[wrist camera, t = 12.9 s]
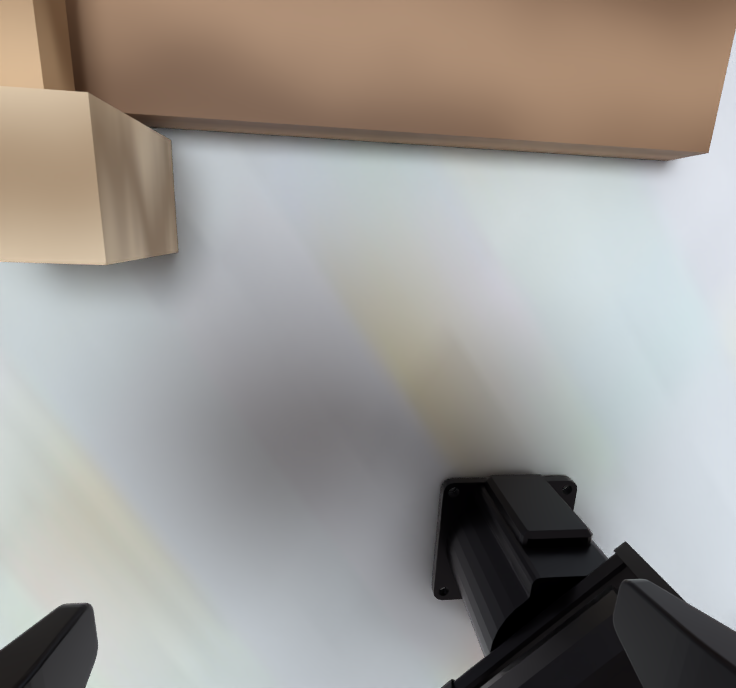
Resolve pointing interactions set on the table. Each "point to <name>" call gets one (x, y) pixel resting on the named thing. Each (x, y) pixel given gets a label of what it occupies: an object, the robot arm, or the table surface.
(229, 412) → the table surface
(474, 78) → the walnut board
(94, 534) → the table surface
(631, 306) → the table surface
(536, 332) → the table surface
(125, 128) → the marking gauge
